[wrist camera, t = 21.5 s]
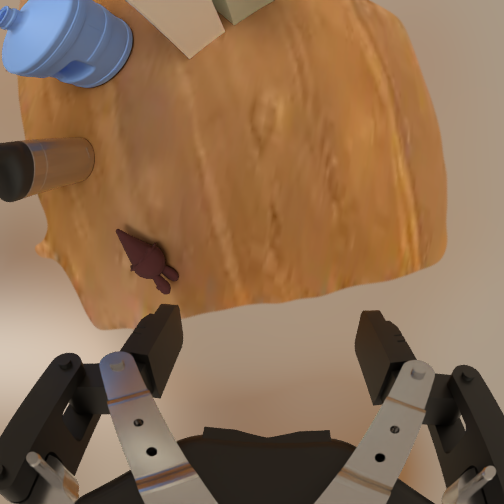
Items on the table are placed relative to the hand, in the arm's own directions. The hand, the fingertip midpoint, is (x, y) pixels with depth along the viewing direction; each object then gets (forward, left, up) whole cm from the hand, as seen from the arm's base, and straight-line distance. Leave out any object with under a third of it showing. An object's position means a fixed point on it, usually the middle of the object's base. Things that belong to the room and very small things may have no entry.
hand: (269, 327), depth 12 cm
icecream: (-22, -11, -38) cm, 46 cm away
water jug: (-33, +30, -38) cm, 59 cm away
